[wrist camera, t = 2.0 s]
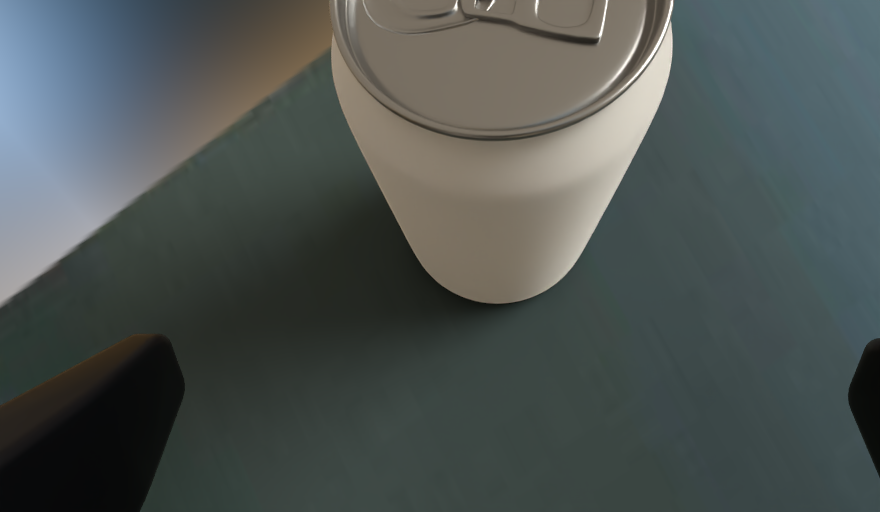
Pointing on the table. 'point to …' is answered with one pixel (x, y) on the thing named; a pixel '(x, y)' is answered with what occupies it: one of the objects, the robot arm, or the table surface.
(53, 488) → the robot arm
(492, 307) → the table surface
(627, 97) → the can
